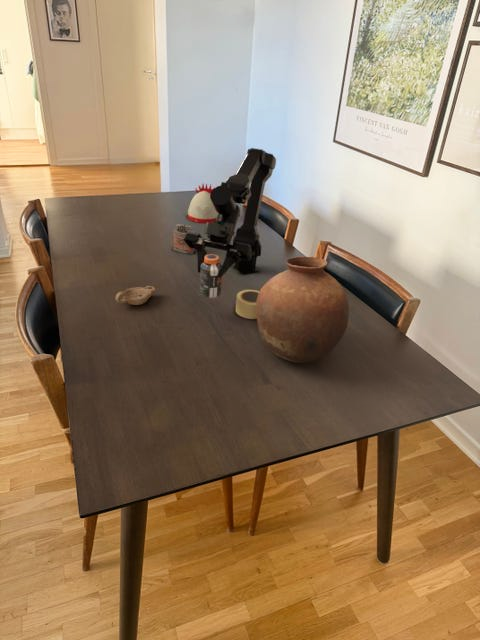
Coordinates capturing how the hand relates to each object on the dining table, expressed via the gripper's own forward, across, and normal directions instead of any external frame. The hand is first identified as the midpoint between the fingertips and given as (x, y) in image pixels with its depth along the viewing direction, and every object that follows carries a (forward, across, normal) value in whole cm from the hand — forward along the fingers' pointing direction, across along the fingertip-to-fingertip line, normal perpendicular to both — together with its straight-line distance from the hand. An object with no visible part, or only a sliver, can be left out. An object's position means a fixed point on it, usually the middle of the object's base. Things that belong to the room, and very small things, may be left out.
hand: (209, 274), depth 121 cm
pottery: (+13, +27, +6) cm, 31 cm away
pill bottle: (+4, 0, +6) cm, 7 cm away
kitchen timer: (-44, -34, +64) cm, 85 cm away
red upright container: (-18, -26, +37) cm, 48 cm away
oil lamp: (+11, -22, +8) cm, 26 cm away
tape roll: (+4, +10, +15) cm, 19 cm away
